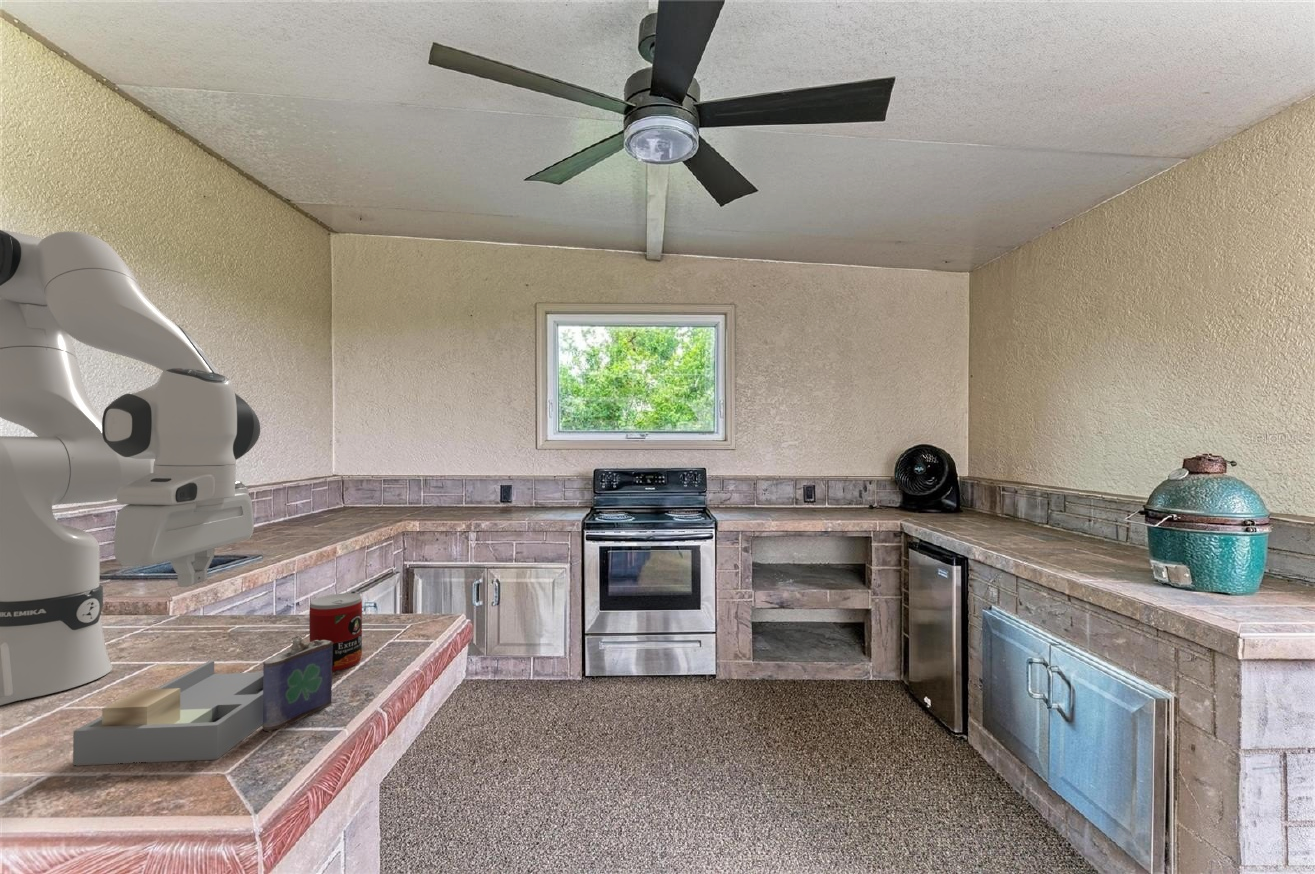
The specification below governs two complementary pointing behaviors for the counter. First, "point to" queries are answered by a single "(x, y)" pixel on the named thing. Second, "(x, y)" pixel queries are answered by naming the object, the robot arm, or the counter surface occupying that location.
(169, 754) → the grey compartment tray
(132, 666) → the counter surface
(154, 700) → the maple block
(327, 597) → the canned food
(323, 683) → the flask
